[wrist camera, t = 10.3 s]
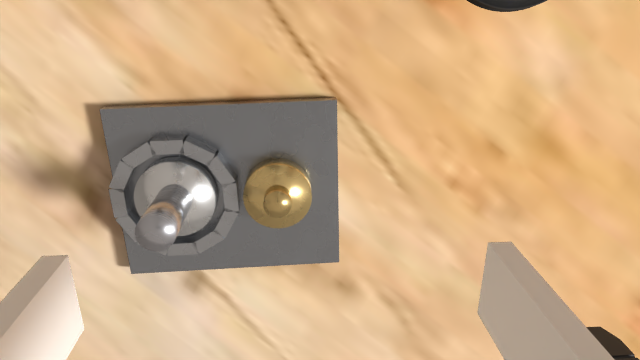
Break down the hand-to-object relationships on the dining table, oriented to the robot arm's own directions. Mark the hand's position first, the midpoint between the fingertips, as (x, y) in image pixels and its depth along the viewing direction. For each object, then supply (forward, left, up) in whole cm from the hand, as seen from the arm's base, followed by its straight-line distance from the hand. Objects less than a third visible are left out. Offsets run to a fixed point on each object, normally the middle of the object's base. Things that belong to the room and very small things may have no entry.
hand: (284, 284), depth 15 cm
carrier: (+8, -6, -29) cm, 31 cm away
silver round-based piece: (+8, -10, -28) cm, 31 cm away
